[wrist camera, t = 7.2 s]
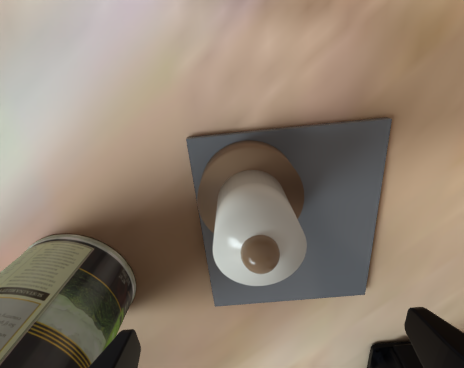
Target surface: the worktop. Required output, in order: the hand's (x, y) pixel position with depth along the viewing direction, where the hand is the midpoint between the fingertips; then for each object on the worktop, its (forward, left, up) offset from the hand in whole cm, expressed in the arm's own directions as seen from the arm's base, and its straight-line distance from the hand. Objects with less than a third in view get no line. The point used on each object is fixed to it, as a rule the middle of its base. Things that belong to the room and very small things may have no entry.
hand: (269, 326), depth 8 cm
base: (0, 0, -11) cm, 11 cm away
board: (-4, -3, -12) cm, 13 cm away
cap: (0, 0, -9) cm, 9 cm away
